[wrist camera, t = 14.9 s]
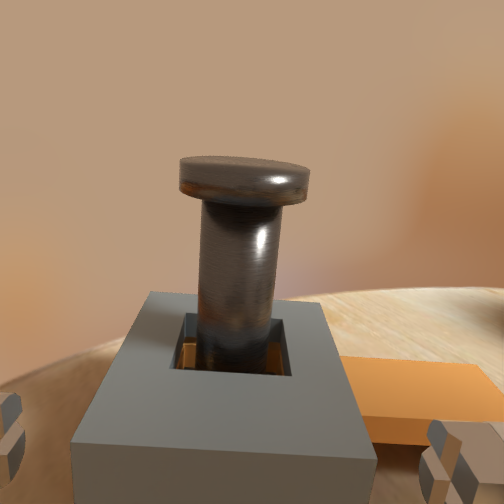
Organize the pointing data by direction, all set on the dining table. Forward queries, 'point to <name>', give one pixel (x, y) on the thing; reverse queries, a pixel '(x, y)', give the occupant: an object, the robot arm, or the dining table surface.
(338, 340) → the dining table surface
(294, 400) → the bracket
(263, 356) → the pin
